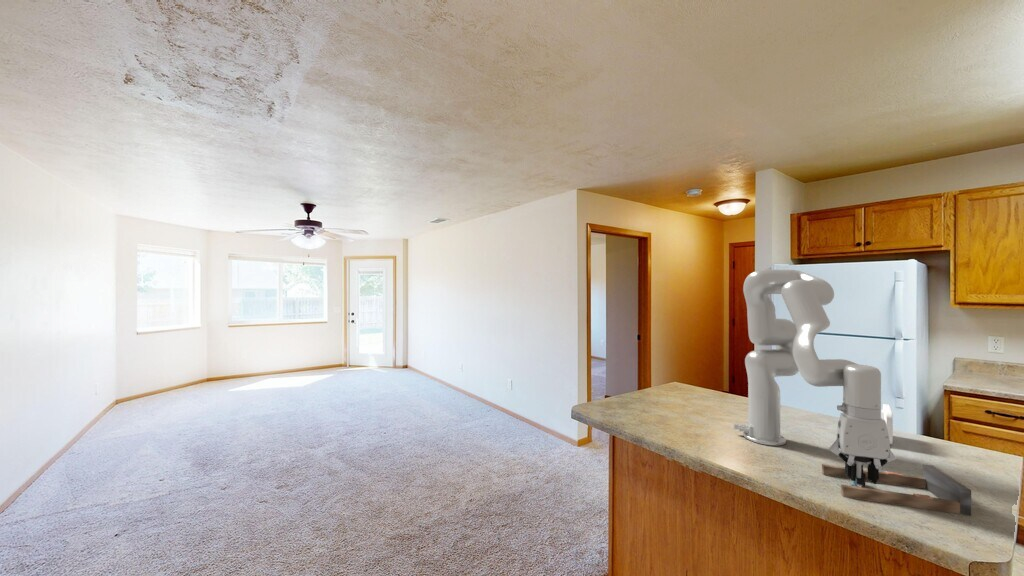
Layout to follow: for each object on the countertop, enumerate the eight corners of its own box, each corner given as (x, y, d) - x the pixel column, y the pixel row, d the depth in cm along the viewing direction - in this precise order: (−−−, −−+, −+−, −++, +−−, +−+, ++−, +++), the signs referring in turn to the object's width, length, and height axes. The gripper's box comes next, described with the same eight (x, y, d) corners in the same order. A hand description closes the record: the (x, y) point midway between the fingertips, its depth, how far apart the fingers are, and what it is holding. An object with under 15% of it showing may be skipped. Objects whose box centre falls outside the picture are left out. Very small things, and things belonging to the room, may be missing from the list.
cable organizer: (893, 448, 129) (893, 414, 129) (851, 440, 136) (851, 407, 136) (889, 435, 140) (889, 403, 140) (850, 428, 147) (850, 398, 147)
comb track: (843, 496, 100) (843, 473, 100) (821, 472, 112) (821, 452, 112) (971, 515, 91) (971, 490, 91) (932, 487, 104) (932, 465, 104)
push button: (872, 495, 100) (874, 457, 100) (845, 488, 103) (846, 451, 103) (869, 485, 105) (871, 448, 105) (844, 479, 108) (845, 443, 108)
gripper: (829, 412, 103) (829, 481, 103) (910, 420, 97) (910, 492, 97) (818, 404, 110) (818, 468, 110) (893, 411, 104) (893, 479, 104)
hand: (861, 479), depth 104 cm, fingers open, 3 cm apart
